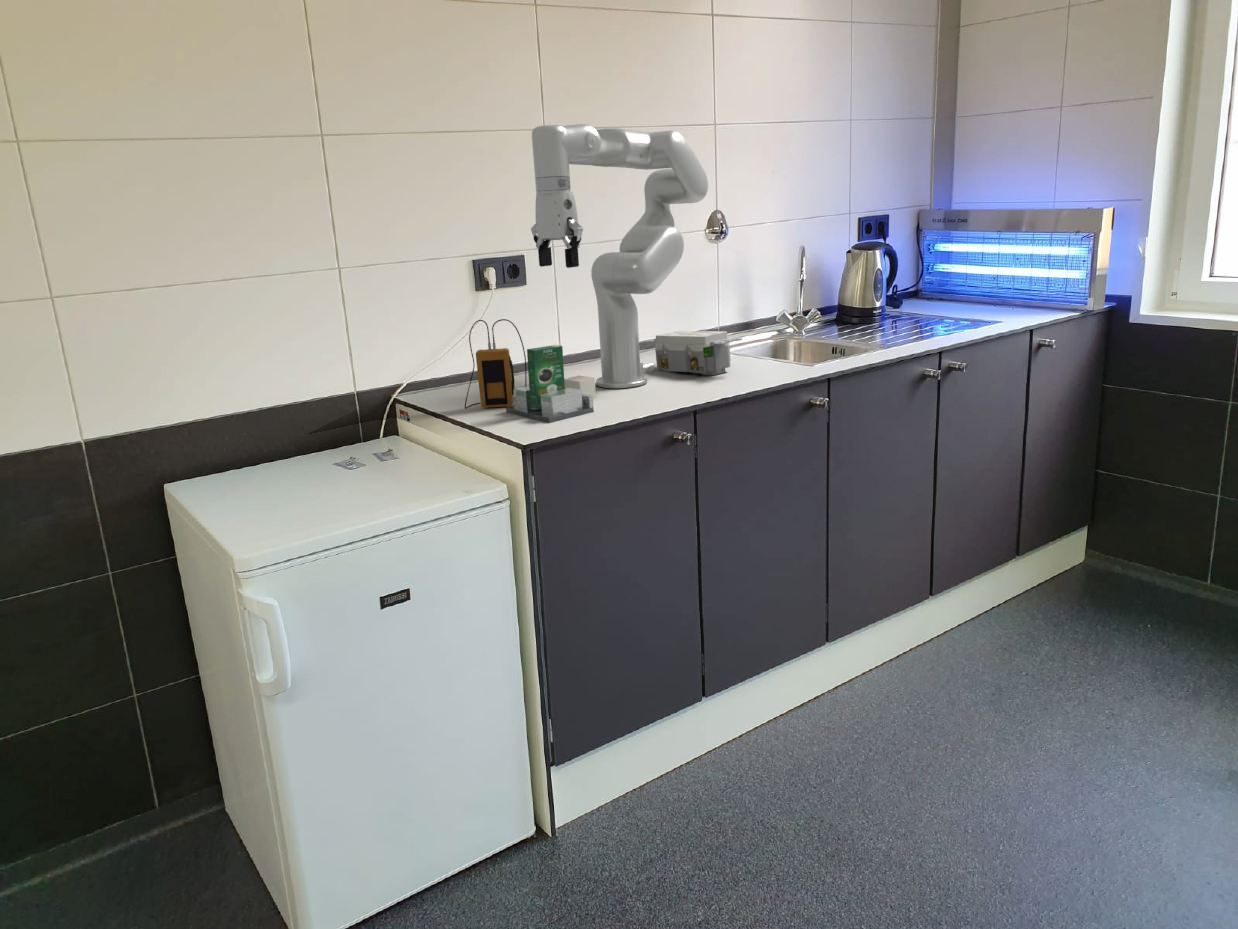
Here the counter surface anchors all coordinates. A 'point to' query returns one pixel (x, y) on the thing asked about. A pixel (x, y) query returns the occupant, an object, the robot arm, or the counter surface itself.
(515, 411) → the rail base
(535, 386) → the coffee box
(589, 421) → the counter surface
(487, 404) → the multimeter
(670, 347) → the grey electrical enclosure
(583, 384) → the block
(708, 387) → the counter surface
